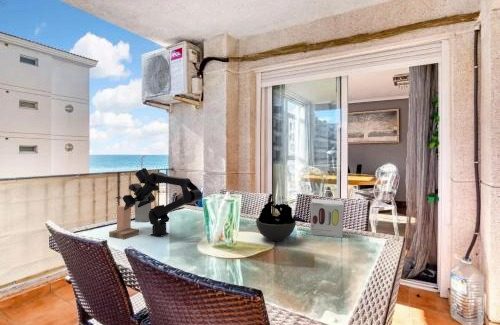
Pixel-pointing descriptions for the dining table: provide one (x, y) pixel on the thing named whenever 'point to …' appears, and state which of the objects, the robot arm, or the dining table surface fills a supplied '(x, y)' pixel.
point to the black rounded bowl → (276, 222)
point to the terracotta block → (123, 217)
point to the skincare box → (142, 212)
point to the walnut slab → (124, 233)
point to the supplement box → (327, 217)
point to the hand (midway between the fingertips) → (131, 208)
